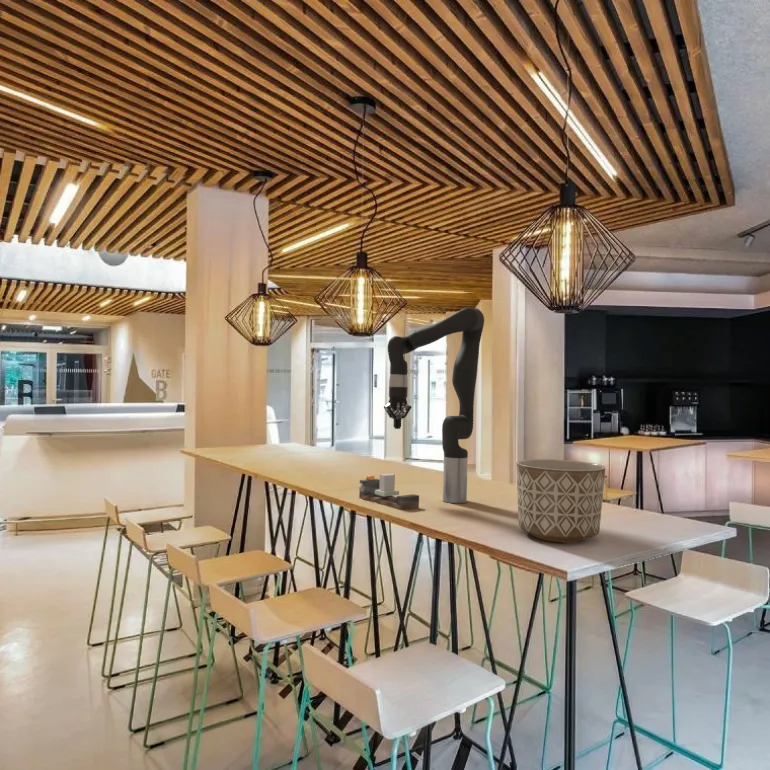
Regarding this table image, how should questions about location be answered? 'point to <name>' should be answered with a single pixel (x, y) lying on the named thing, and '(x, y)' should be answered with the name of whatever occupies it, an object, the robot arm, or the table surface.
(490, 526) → the table surface
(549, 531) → the planter
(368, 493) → the rail
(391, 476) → the carriage
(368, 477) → the gauge button
